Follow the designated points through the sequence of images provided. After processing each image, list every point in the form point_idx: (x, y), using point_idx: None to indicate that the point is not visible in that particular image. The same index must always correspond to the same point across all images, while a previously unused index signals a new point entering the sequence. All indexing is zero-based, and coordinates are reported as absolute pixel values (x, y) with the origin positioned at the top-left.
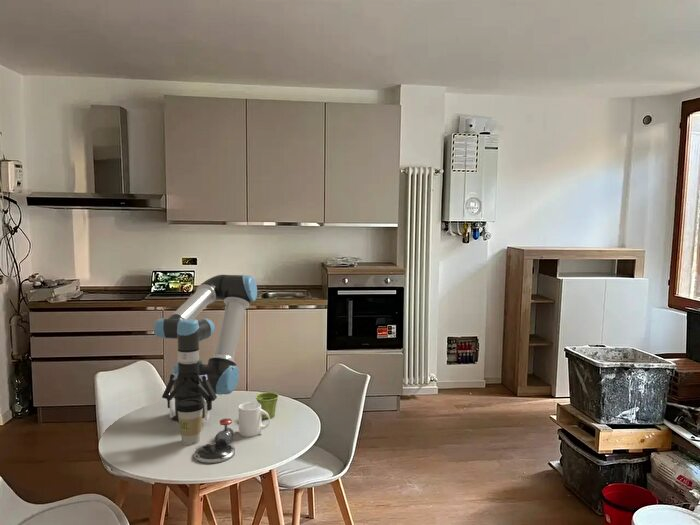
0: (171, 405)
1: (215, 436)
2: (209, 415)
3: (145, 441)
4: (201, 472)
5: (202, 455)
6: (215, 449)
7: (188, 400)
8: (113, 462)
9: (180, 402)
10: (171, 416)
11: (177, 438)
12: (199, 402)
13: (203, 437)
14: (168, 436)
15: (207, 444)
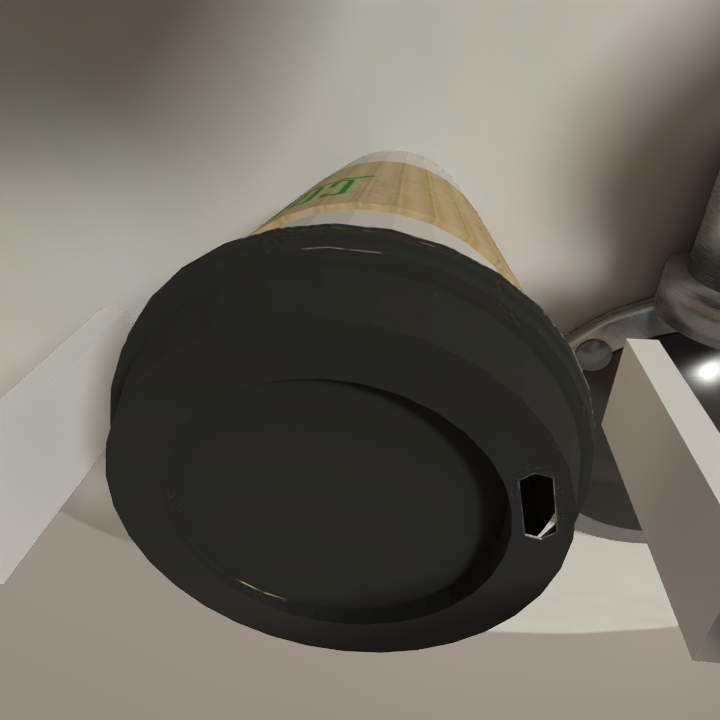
0: (53, 517)
1: (678, 331)
2: (666, 363)
3: (20, 265)
4: (612, 595)
5: (587, 496)
6: None
7: (220, 393)
8: (80, 517)
9: (150, 517)
10: None
11: (234, 179)
12: (444, 262)
13: (480, 124)
14: (125, 145)
15: (588, 351)
